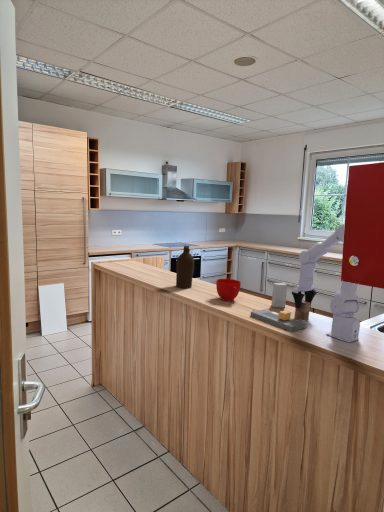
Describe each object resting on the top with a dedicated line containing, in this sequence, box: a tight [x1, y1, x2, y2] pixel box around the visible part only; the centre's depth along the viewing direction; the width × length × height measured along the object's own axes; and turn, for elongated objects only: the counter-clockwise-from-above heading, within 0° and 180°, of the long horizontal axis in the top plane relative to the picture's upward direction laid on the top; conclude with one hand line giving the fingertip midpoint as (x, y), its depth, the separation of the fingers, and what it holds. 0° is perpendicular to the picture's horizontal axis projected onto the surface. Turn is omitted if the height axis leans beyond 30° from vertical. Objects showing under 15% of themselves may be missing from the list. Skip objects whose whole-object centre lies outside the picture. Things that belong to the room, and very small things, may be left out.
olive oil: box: [175, 245, 195, 289], centre depth 198 cm, size 11×11×25 cm
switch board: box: [250, 308, 307, 332], centre depth 144 cm, size 22×10×2 cm, turn 37°
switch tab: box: [278, 310, 292, 320], centre depth 140 cm, size 3×4×3 cm
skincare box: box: [271, 282, 288, 309], centre depth 168 cm, size 6×4×12 cm
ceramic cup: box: [215, 278, 242, 302], centre depth 174 cm, size 13×17×10 cm
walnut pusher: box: [294, 299, 311, 321], centre depth 151 cm, size 5×4×8 cm
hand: (302, 306), depth 151 cm, fingers open, 7 cm apart
